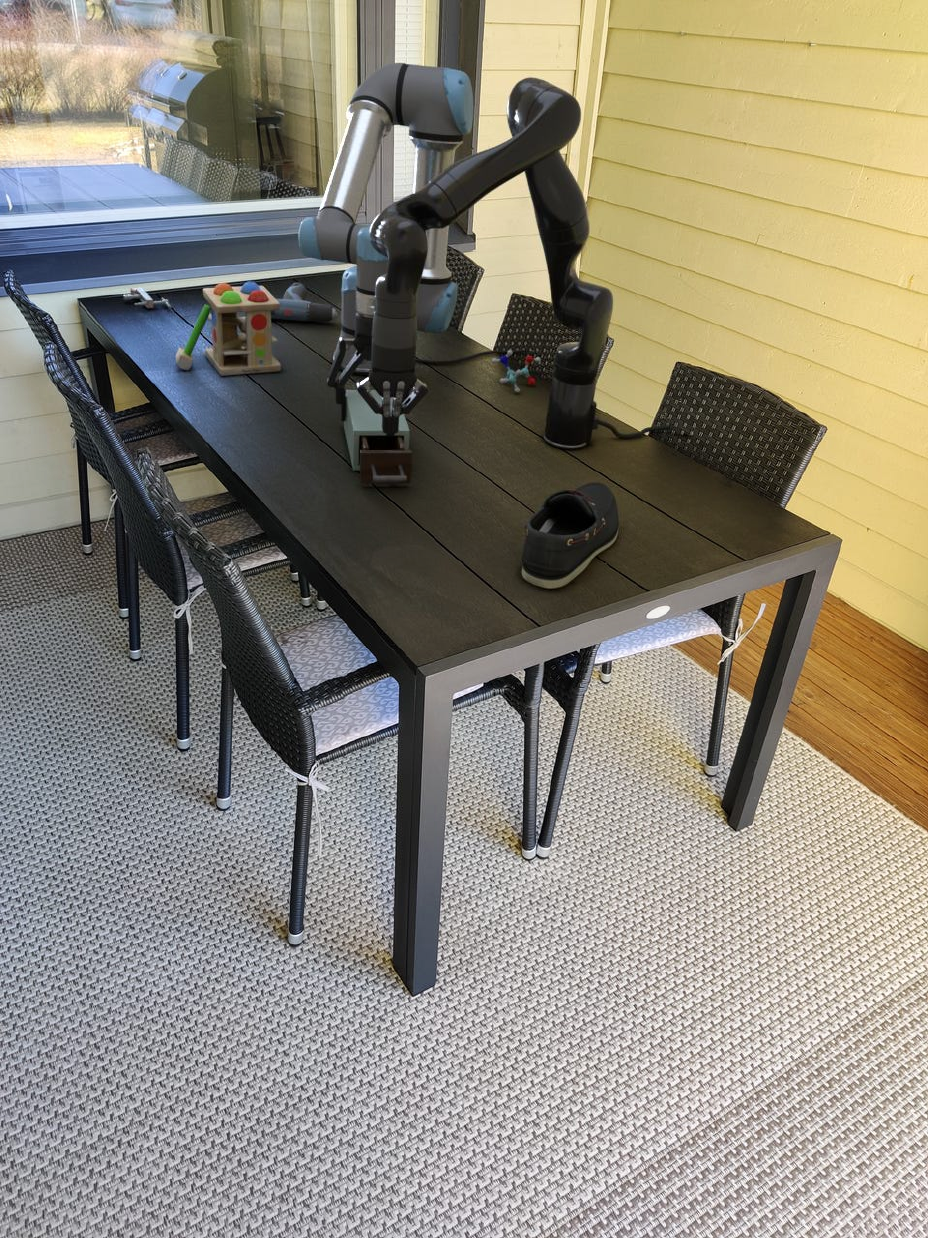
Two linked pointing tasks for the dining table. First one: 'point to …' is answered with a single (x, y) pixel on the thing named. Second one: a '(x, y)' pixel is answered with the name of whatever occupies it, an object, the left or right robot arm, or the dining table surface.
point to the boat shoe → (568, 534)
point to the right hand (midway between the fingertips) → (390, 434)
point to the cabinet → (366, 423)
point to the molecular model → (511, 373)
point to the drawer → (384, 460)
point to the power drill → (301, 307)
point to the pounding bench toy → (229, 347)
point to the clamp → (144, 298)
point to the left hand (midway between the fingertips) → (371, 418)
